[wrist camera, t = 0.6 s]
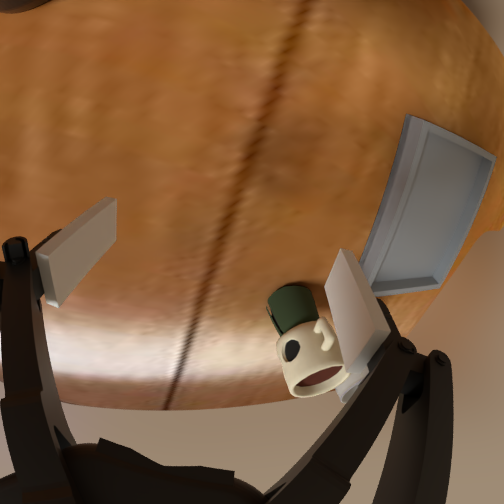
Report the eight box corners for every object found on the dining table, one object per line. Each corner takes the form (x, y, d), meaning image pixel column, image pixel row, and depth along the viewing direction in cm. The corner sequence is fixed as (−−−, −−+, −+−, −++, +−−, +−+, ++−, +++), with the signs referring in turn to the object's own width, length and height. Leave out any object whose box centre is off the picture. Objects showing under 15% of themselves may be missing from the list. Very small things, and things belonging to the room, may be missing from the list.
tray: (406, 113, 25) (423, 120, 23) (482, 149, 29) (496, 157, 27) (350, 284, 38) (359, 298, 36) (430, 277, 43) (439, 288, 40)
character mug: (269, 267, 33) (305, 359, 23) (323, 265, 35) (370, 347, 25) (255, 327, 39) (279, 409, 29) (302, 323, 41) (333, 398, 31)
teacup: (338, 345, 48) (355, 380, 41) (383, 337, 50) (401, 368, 44) (314, 383, 55) (326, 414, 49) (355, 374, 58) (368, 402, 52)
